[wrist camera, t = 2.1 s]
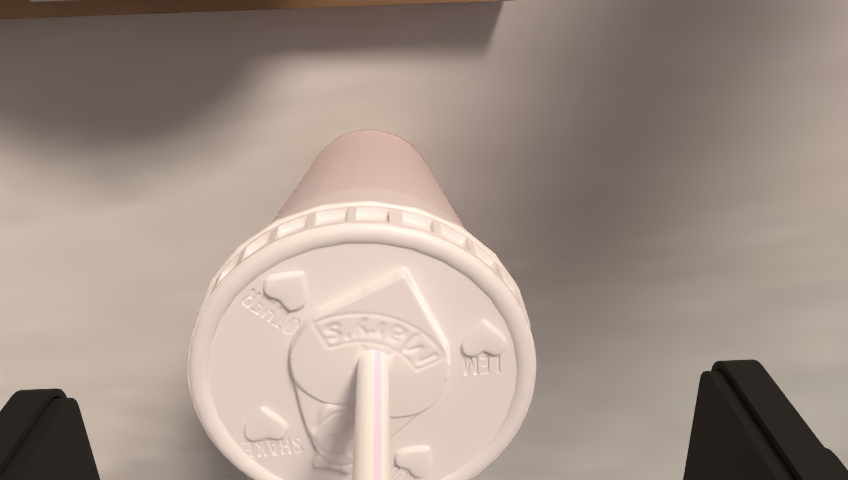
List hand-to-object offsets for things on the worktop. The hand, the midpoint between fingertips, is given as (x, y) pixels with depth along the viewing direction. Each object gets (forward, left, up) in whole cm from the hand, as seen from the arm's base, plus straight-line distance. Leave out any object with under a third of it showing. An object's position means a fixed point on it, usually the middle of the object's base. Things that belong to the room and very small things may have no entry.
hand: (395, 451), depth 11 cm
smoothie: (0, +1, -12) cm, 12 cm away
